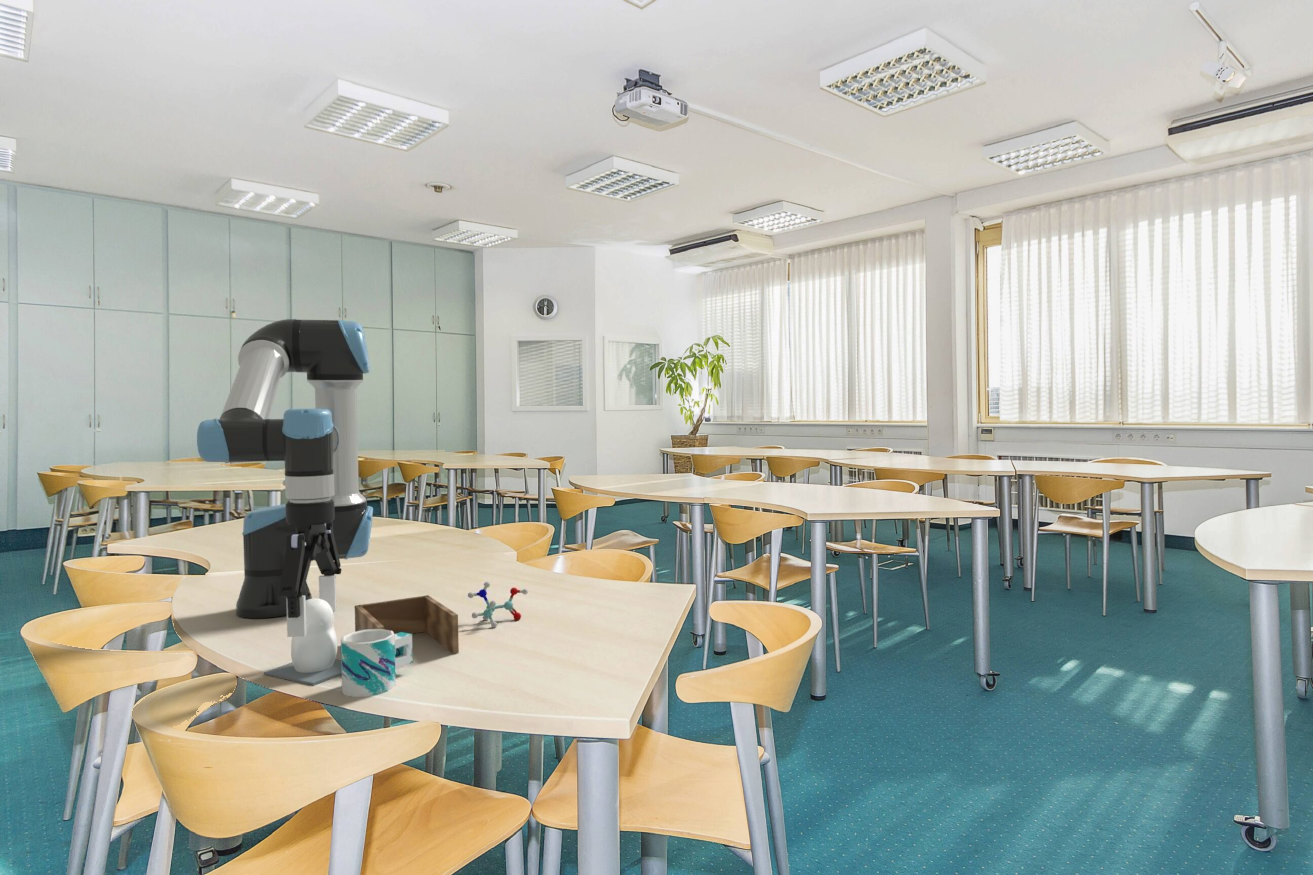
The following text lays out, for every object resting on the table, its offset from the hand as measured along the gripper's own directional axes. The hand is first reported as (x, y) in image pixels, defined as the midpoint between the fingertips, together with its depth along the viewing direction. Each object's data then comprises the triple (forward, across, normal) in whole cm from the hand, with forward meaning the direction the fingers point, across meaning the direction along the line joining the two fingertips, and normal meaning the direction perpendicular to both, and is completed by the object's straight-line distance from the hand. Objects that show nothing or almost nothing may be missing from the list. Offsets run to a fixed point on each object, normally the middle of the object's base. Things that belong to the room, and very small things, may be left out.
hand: (313, 623), depth 127 cm
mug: (+8, +8, +13) cm, 17 cm away
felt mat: (+8, +1, 0) cm, 8 cm away
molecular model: (+9, -27, +26) cm, 39 cm away
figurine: (+8, 0, 0) cm, 8 cm away
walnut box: (+8, -11, +12) cm, 18 cm away
